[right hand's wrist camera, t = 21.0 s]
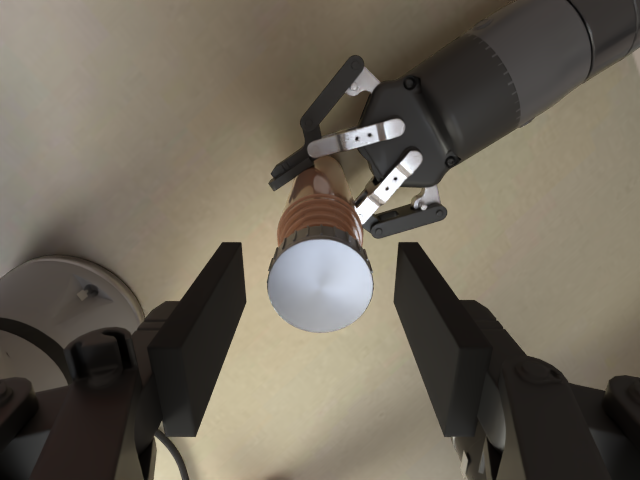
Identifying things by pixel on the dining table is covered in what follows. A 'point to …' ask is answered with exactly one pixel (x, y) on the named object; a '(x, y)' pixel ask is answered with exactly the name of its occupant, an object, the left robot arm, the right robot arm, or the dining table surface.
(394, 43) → the dining table surface
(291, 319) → the cap
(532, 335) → the dining table surface
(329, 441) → the dining table surface
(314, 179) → the bottle
